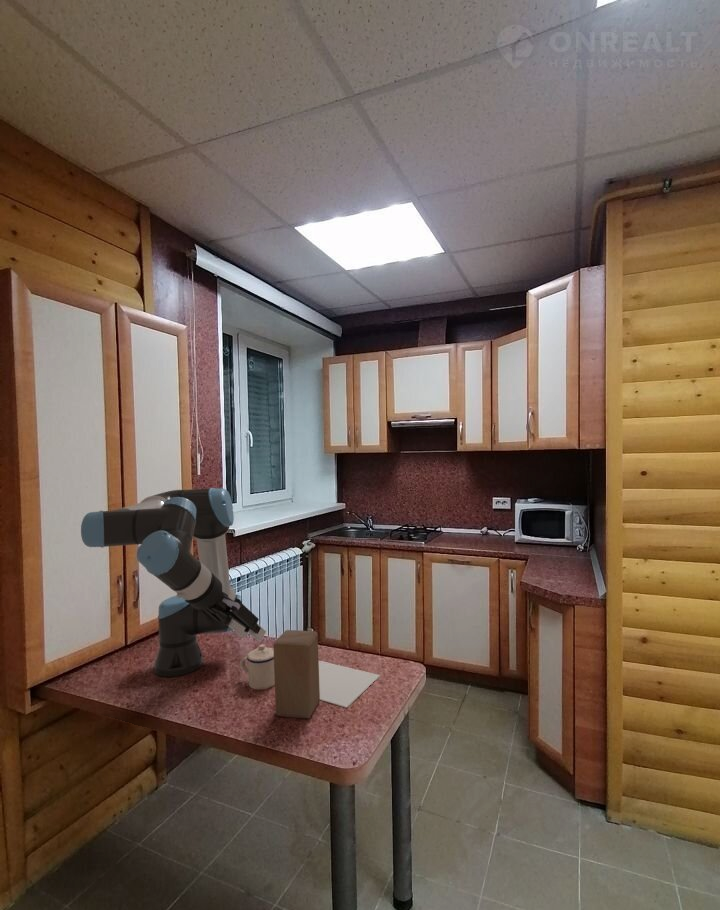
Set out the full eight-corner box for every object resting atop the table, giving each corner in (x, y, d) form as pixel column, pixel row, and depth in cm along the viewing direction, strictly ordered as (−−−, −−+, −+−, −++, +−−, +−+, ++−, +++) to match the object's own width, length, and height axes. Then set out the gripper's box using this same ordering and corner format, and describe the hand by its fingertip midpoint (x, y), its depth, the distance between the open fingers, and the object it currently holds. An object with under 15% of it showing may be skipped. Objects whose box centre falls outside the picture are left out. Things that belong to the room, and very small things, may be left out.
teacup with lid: (283, 678, 144) (282, 641, 144) (267, 692, 135) (266, 653, 135) (250, 672, 148) (249, 637, 148) (233, 686, 140) (232, 648, 140)
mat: (279, 688, 138) (278, 687, 138) (317, 660, 155) (317, 660, 155) (346, 708, 126) (346, 707, 126) (380, 676, 143) (380, 675, 143)
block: (310, 720, 121) (307, 644, 120) (274, 717, 123) (271, 642, 123) (320, 700, 130) (318, 630, 130) (287, 697, 132) (285, 628, 132)
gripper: (160, 596, 100) (220, 643, 115) (217, 607, 91) (275, 656, 106) (180, 566, 105) (235, 615, 119) (236, 574, 96) (289, 625, 110)
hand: (254, 634), depth 112 cm, fingers open, 4 cm apart
